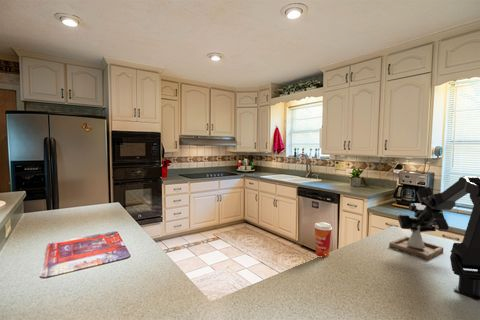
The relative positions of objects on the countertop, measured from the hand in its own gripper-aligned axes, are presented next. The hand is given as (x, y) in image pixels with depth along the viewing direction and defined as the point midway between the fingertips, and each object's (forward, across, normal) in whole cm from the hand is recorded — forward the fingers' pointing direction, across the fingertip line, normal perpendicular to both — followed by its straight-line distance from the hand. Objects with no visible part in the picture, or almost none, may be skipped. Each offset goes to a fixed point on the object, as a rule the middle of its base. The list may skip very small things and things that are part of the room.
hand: (415, 231), depth 117 cm
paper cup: (-5, +45, +17) cm, 48 cm away
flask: (+4, 0, +6) cm, 7 cm away
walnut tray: (+5, 0, +7) cm, 9 cm away
